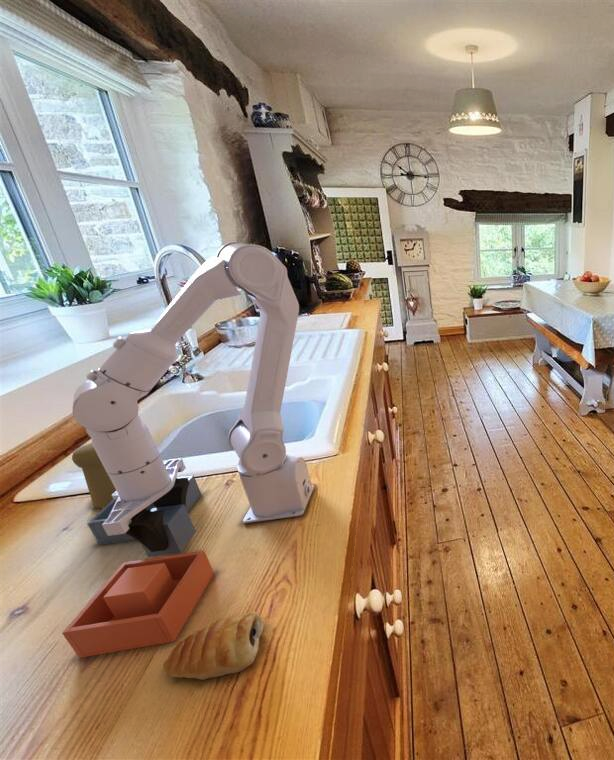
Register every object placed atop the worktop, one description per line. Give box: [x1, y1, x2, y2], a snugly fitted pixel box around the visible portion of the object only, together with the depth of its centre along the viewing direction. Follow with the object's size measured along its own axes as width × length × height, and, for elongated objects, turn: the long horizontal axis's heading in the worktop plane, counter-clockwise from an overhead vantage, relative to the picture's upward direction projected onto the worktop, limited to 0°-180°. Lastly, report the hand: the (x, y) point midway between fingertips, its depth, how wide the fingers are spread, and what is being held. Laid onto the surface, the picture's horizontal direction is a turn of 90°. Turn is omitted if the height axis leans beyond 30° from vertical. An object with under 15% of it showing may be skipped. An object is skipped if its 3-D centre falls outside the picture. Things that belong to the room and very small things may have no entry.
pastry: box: [162, 610, 265, 681], centre depth 47 cm, size 9×7×4 cm
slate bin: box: [87, 475, 203, 546], centre depth 69 cm, size 10×10×4 cm
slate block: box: [140, 504, 197, 558], centre depth 61 cm, size 4×4×6 cm
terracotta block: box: [103, 563, 176, 620], centre depth 52 cm, size 4×4×6 cm
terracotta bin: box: [61, 550, 215, 659], centre depth 53 cm, size 10×10×4 cm
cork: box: [71, 442, 116, 509], centre depth 74 cm, size 6×6×11 cm
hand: (169, 536), depth 62 cm, fingers closed on slate block, 4 cm apart
